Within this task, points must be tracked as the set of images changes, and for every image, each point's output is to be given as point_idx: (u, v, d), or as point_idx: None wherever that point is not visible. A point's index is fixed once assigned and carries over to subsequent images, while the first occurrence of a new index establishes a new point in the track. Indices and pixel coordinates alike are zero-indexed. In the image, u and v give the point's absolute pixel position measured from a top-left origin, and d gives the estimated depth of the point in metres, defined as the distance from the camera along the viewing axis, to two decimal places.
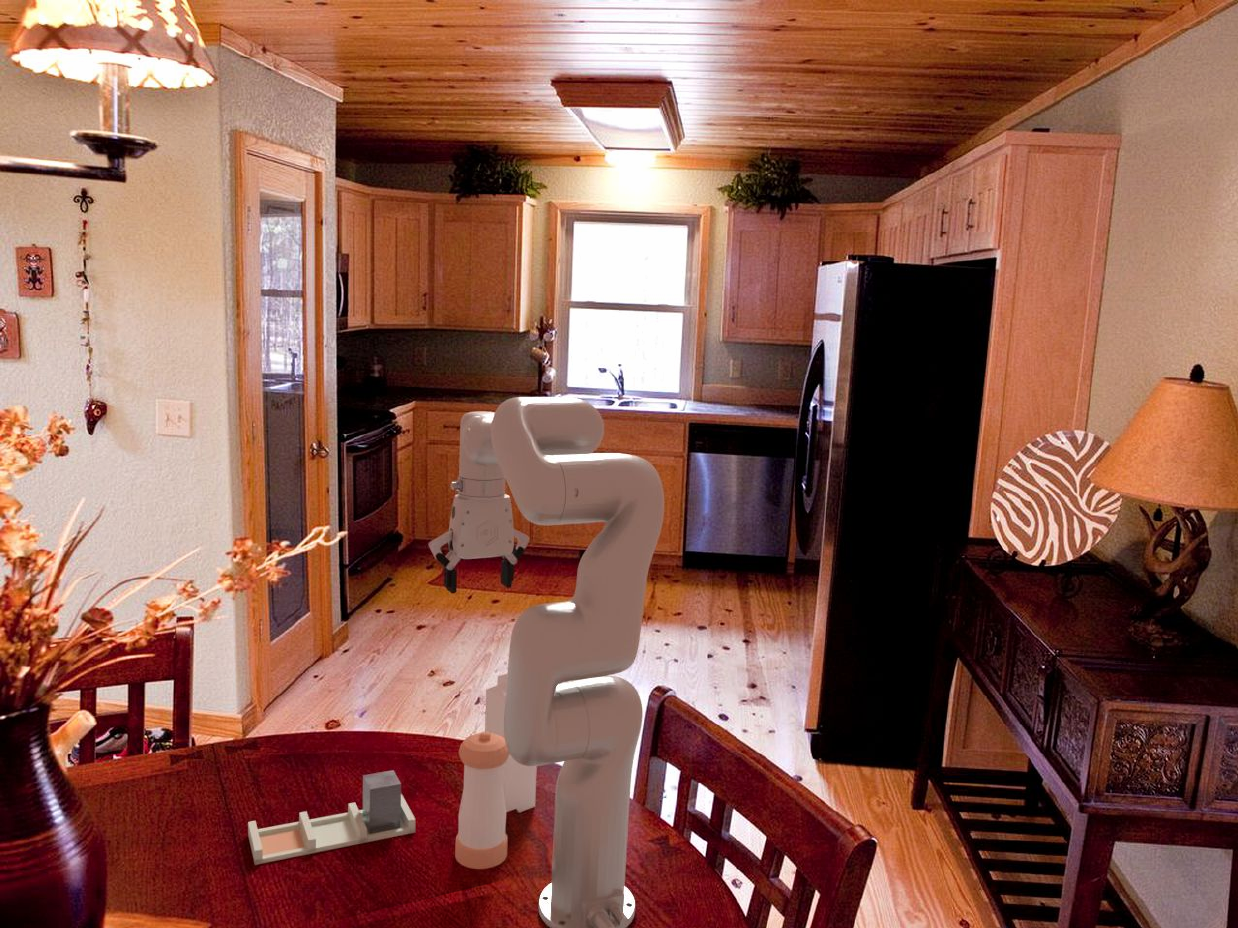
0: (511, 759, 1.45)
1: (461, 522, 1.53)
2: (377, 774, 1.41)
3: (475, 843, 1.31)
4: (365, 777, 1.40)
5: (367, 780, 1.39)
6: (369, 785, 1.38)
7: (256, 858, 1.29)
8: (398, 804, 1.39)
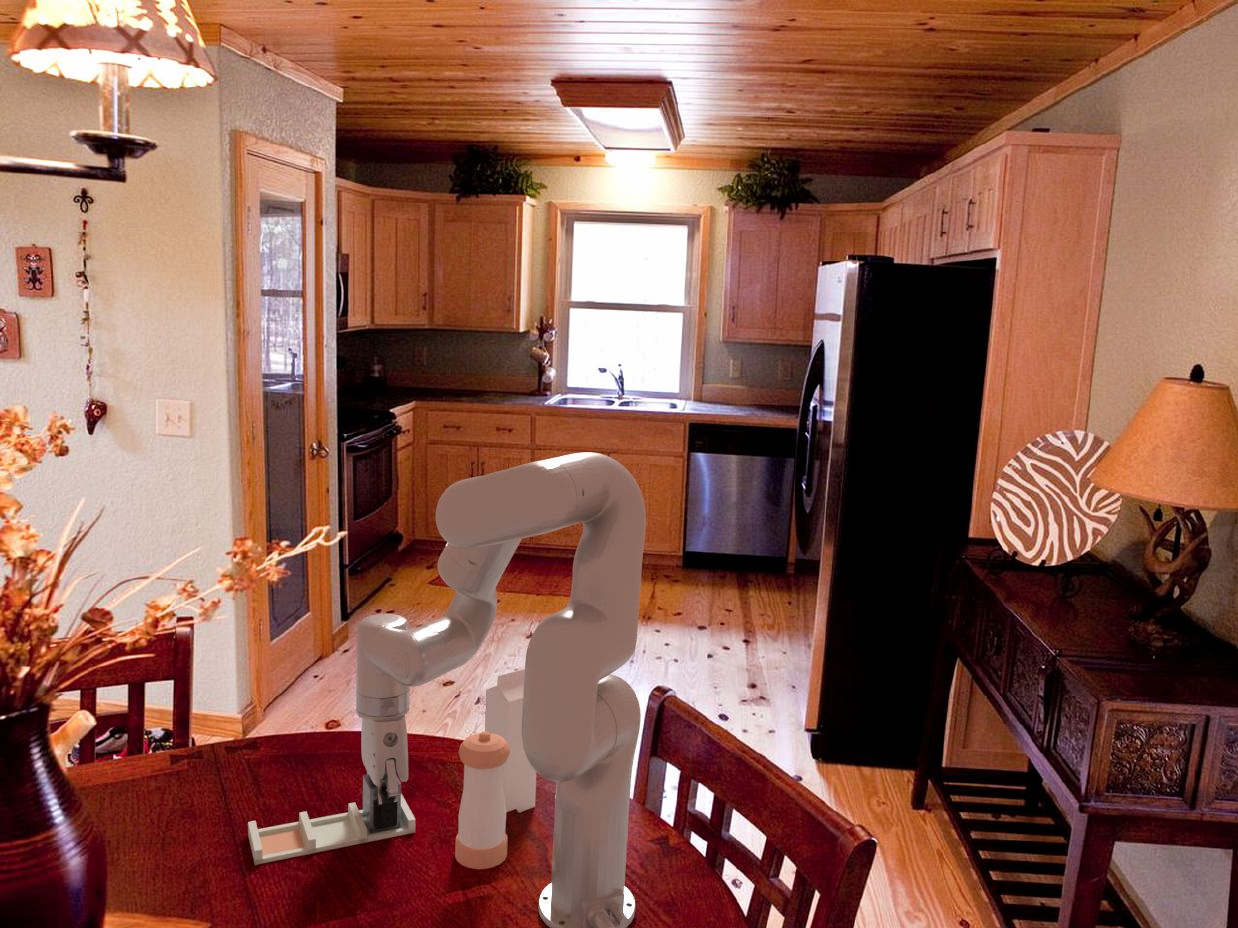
0: (511, 759, 1.45)
1: None
2: None
3: (475, 843, 1.31)
4: (365, 777, 1.40)
5: (367, 780, 1.39)
6: (369, 785, 1.38)
7: (256, 858, 1.29)
8: (398, 804, 1.39)
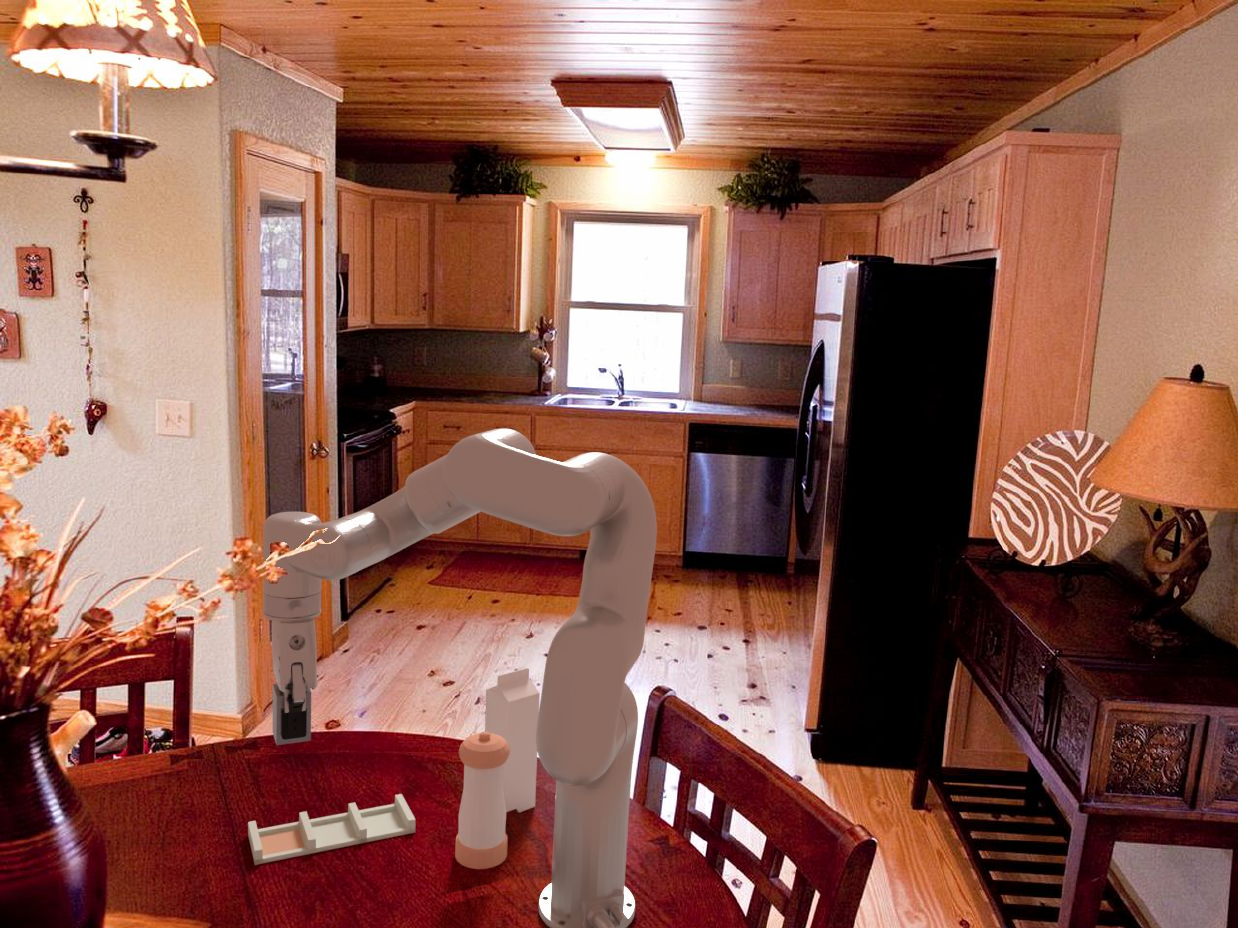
0: (511, 759, 1.45)
1: (315, 648, 1.28)
2: None
3: (475, 843, 1.31)
4: (274, 686, 1.32)
5: (276, 688, 1.31)
6: (277, 693, 1.30)
7: (256, 858, 1.29)
8: (308, 714, 1.31)
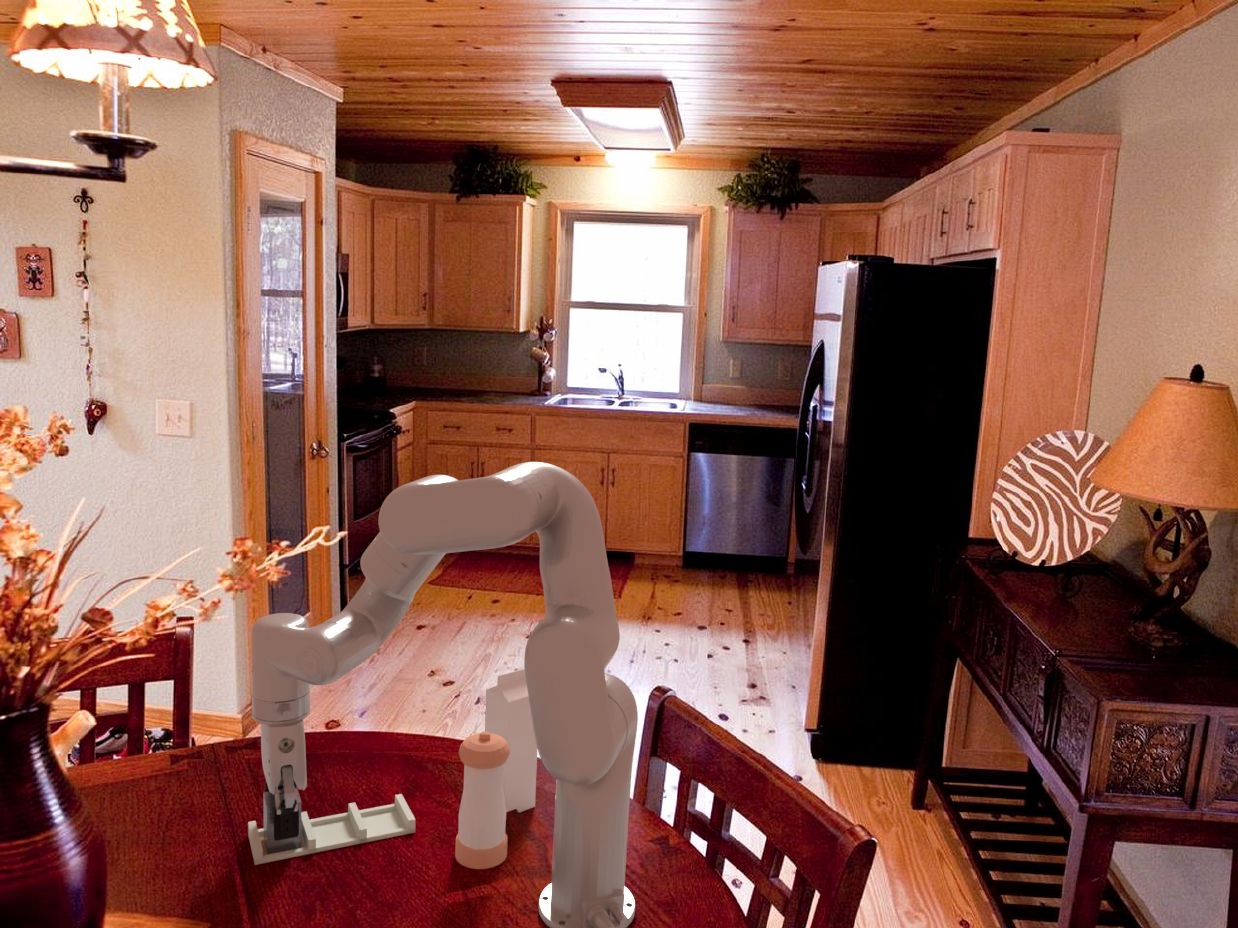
0: (511, 759, 1.45)
1: (305, 749, 1.29)
2: None
3: (475, 843, 1.31)
4: (265, 794, 1.34)
5: (266, 798, 1.33)
6: (267, 803, 1.32)
7: (256, 858, 1.29)
8: None
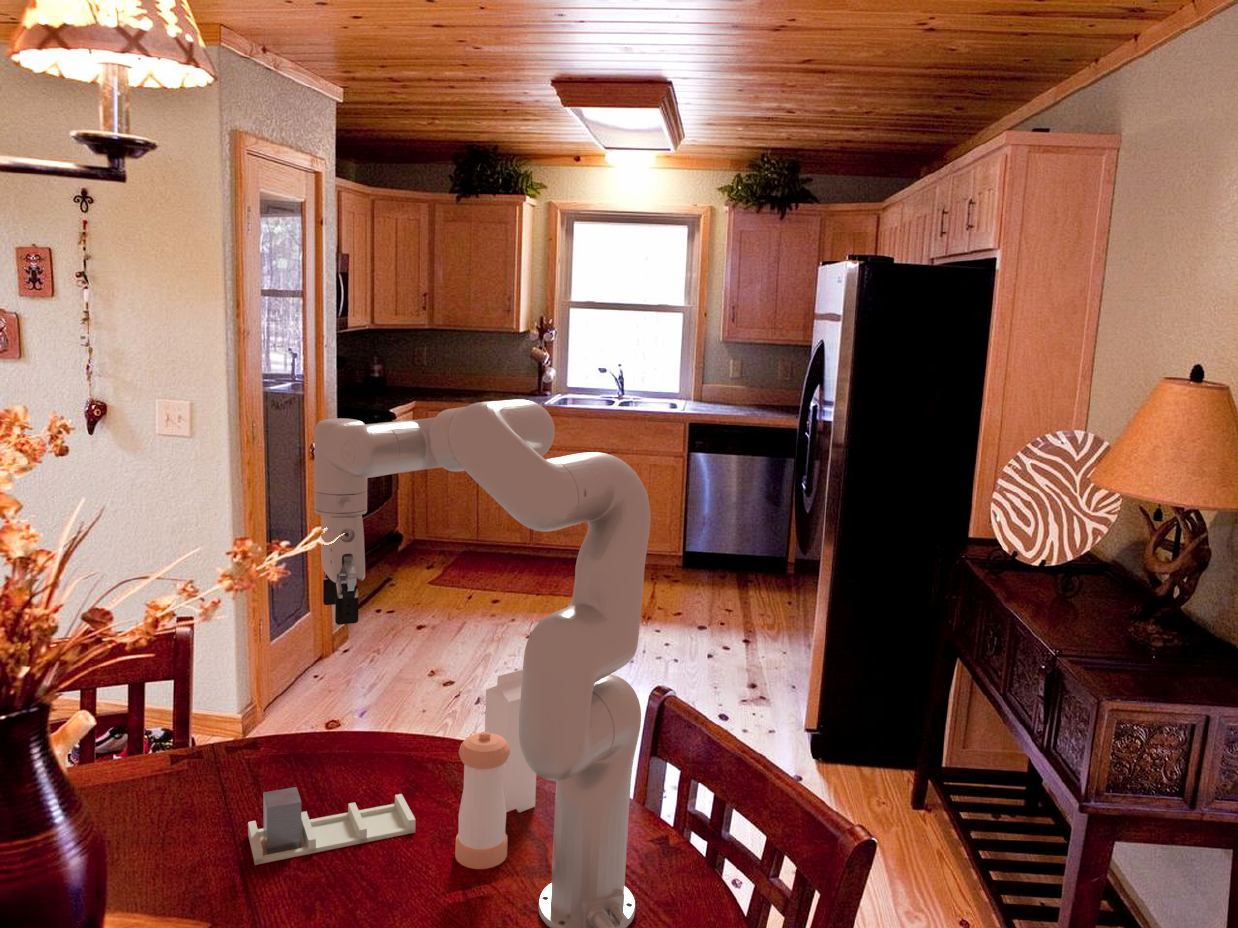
0: (511, 759, 1.45)
1: (363, 541, 1.40)
2: (278, 792, 1.35)
3: (475, 843, 1.31)
4: (265, 794, 1.34)
5: (266, 798, 1.33)
6: (267, 803, 1.32)
7: (256, 858, 1.29)
8: (298, 823, 1.33)
